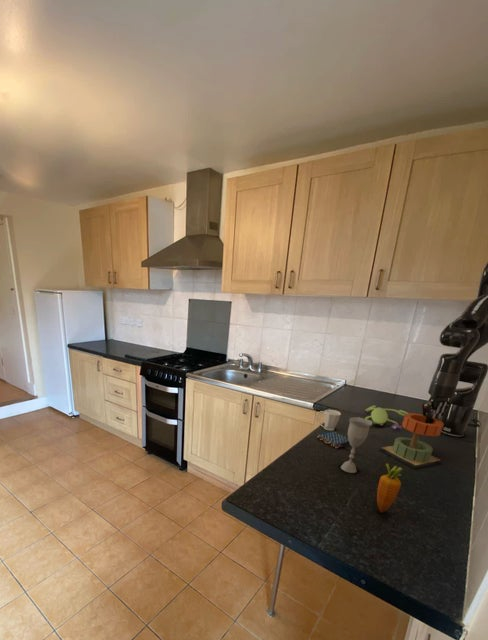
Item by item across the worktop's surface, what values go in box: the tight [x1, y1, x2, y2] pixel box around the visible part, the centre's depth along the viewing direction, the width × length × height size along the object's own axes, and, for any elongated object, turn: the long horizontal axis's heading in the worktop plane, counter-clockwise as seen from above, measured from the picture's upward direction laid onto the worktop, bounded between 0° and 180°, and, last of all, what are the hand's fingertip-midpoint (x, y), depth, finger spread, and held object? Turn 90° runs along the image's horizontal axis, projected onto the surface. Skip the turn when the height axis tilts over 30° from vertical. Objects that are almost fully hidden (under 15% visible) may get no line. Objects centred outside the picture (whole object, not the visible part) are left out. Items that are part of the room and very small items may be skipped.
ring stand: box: [381, 432, 441, 466], centre depth 124 cm, size 14×14×10 cm
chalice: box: [340, 416, 373, 474], centre depth 112 cm, size 7×7×18 cm
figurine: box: [357, 405, 409, 430], centre depth 159 cm, size 18×27×6 cm
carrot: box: [376, 463, 403, 514], centre depth 90 cm, size 5×5×15 cm
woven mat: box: [316, 431, 349, 449], centre depth 135 cm, size 10×11×2 cm
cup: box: [315, 408, 342, 432], centre depth 147 cm, size 7×10×8 cm
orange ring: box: [401, 412, 444, 437], centre depth 122 cm, size 12×12×4 cm
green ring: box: [392, 436, 434, 462], centre depth 125 cm, size 12×12×4 cm
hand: (429, 426), depth 125 cm, fingers closed on orange ring, 2 cm apart
